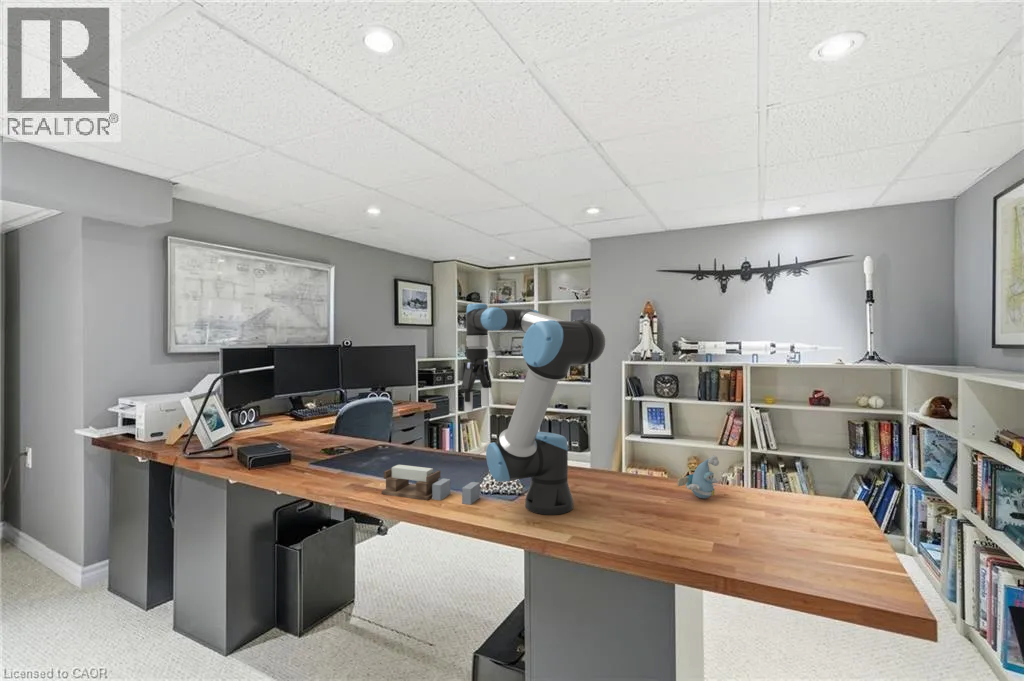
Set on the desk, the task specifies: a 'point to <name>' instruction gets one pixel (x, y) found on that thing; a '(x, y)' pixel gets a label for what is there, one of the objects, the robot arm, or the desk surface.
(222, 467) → the desk surface
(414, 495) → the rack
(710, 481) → the toy figure
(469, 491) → the blocks
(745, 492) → the desk surface
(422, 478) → the pale grey long block
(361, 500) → the desk surface
